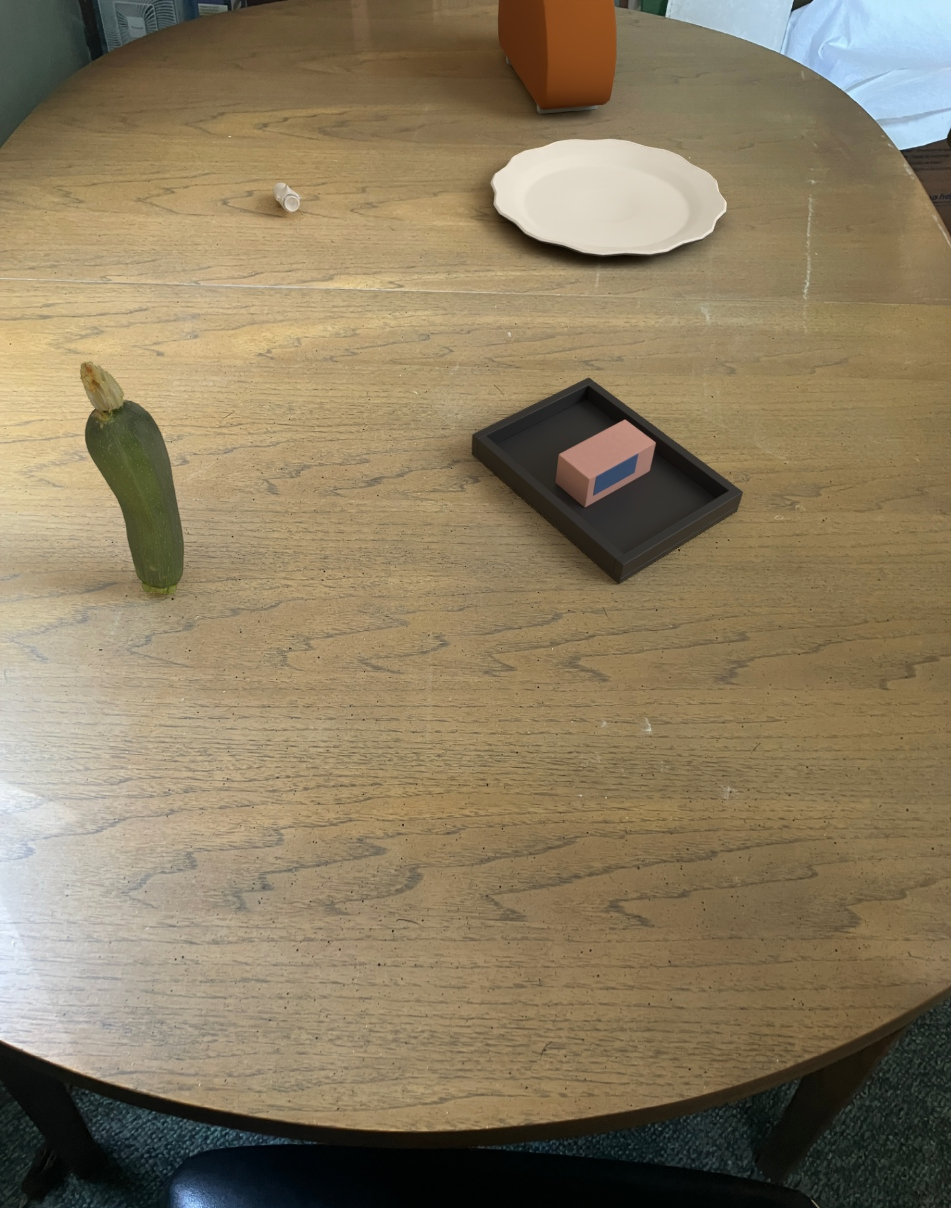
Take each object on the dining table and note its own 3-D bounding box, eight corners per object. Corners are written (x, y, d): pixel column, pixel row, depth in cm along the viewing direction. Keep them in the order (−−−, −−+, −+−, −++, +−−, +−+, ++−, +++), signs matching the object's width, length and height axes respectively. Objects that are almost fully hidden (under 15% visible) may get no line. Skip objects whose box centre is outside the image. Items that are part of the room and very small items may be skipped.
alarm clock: (611, 121, 117) (631, -36, 104) (541, 126, 116) (553, -31, 103) (557, 47, 132) (569, -98, 119) (495, 52, 130) (500, -95, 118)
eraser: (650, 471, 76) (656, 442, 73) (585, 508, 73) (589, 479, 70) (619, 447, 77) (624, 418, 75) (554, 482, 74) (557, 453, 72)
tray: (737, 511, 74) (743, 491, 72) (619, 584, 69) (623, 565, 67) (586, 396, 82) (588, 376, 81) (471, 454, 77) (471, 434, 76)
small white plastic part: (309, 195, 104) (305, 166, 102) (300, 222, 100) (296, 194, 98) (276, 193, 104) (272, 165, 102) (266, 221, 100) (262, 192, 98)
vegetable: (166, 557, 69) (86, 320, 54) (218, 574, 68) (151, 338, 53) (131, 600, 67) (36, 363, 51) (184, 618, 66) (104, 383, 50)
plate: (584, 296, 92) (587, 279, 91) (447, 188, 105) (447, 172, 104) (769, 227, 101) (774, 210, 100) (622, 136, 115) (624, 120, 113)
